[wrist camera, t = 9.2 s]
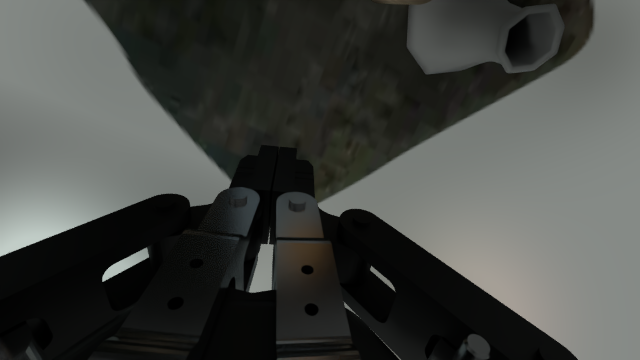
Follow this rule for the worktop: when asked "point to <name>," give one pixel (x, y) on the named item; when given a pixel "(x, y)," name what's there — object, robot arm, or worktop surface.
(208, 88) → the worktop surface
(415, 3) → the outer post
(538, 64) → the flask
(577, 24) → the worktop surface
